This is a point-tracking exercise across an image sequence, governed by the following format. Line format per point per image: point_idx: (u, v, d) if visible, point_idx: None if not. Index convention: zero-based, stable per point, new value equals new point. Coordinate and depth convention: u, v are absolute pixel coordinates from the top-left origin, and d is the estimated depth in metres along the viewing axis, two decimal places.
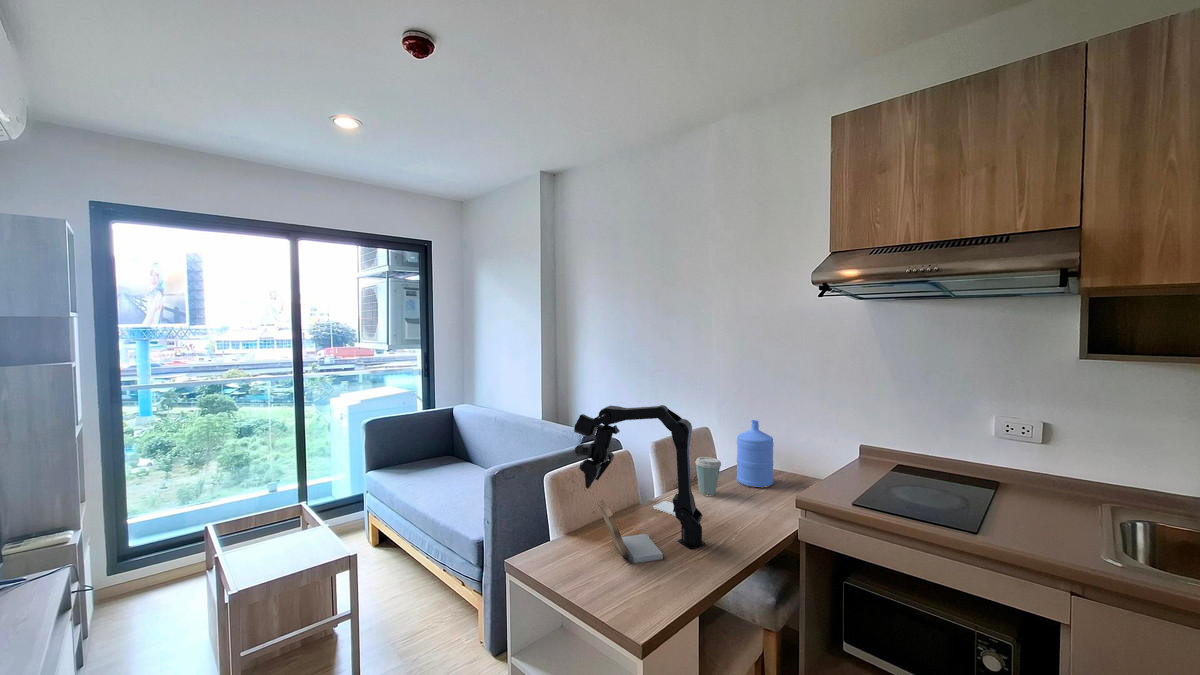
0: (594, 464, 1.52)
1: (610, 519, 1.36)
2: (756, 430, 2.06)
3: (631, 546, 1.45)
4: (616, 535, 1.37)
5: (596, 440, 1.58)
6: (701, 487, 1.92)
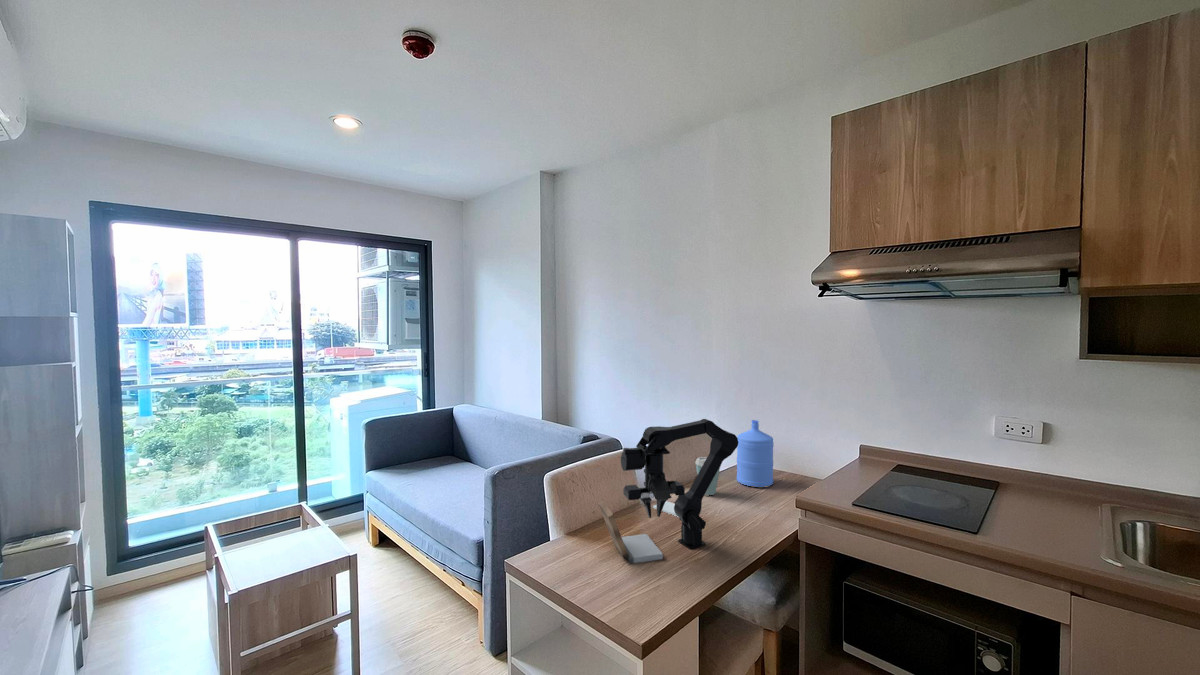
0: (675, 481, 1.49)
1: (610, 519, 1.36)
2: (756, 430, 2.06)
3: (631, 546, 1.45)
4: (616, 535, 1.37)
5: (652, 468, 1.43)
6: None
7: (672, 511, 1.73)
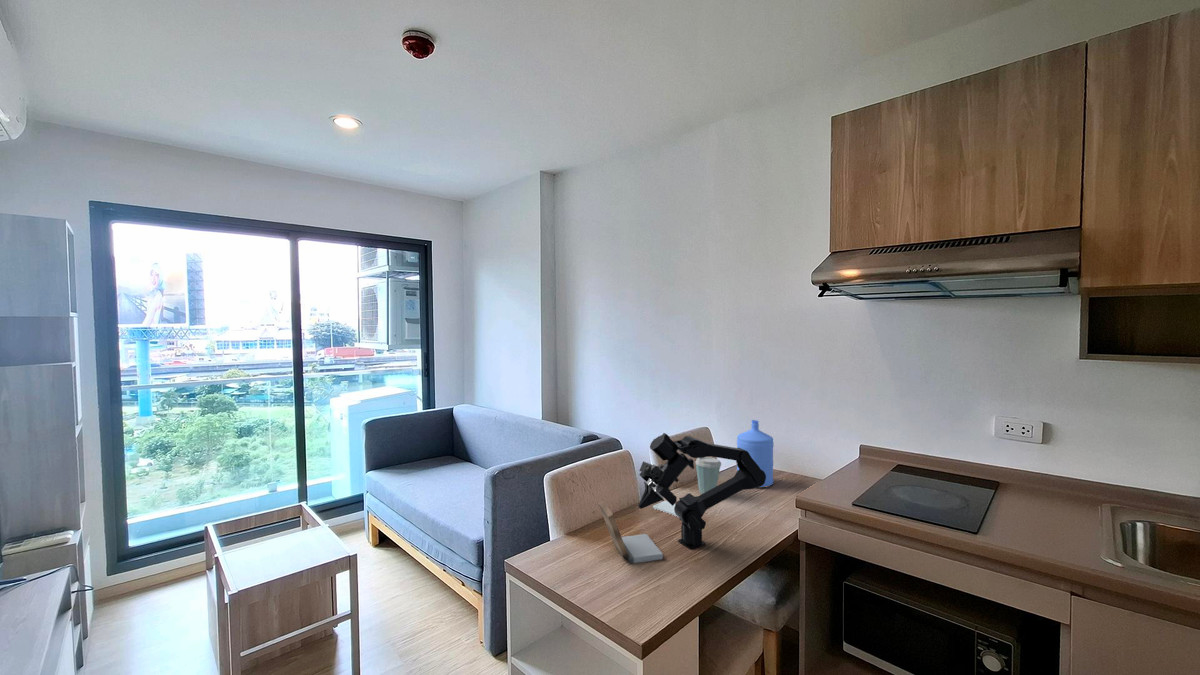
0: None
1: (610, 519, 1.36)
2: (756, 430, 2.06)
3: (631, 546, 1.45)
4: (616, 535, 1.37)
5: (673, 467, 1.45)
6: (701, 487, 1.92)
7: (672, 511, 1.73)
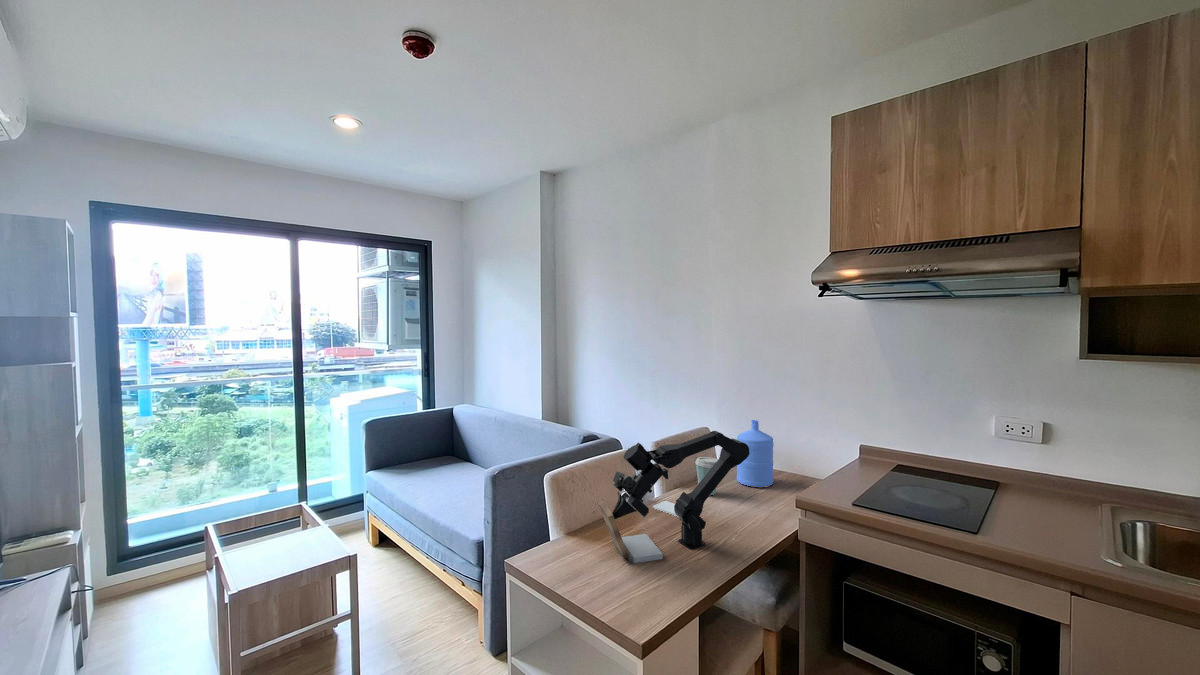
0: (645, 505, 1.37)
1: (610, 519, 1.36)
2: (756, 430, 2.06)
3: (631, 546, 1.45)
4: (616, 535, 1.37)
5: (646, 478, 1.43)
6: None
7: (672, 511, 1.74)
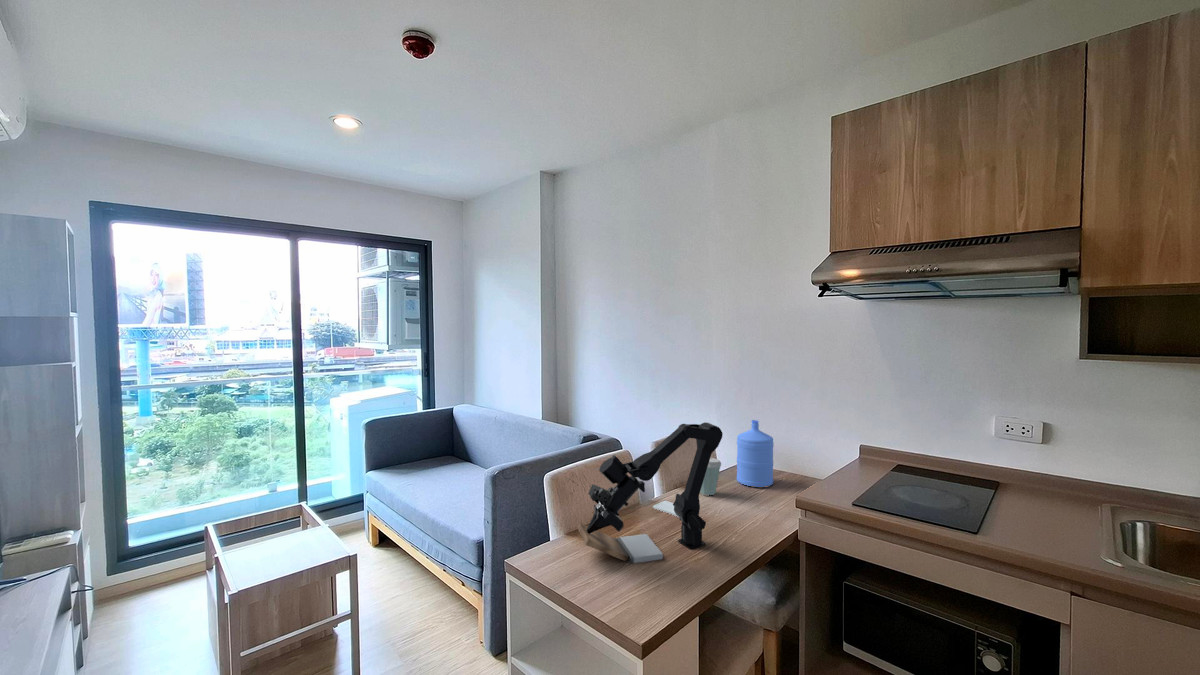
0: (620, 519, 1.35)
1: (589, 544, 1.35)
2: (756, 430, 2.06)
3: (631, 546, 1.45)
4: (604, 551, 1.36)
5: (622, 491, 1.41)
6: (701, 487, 1.92)
7: (672, 511, 1.74)
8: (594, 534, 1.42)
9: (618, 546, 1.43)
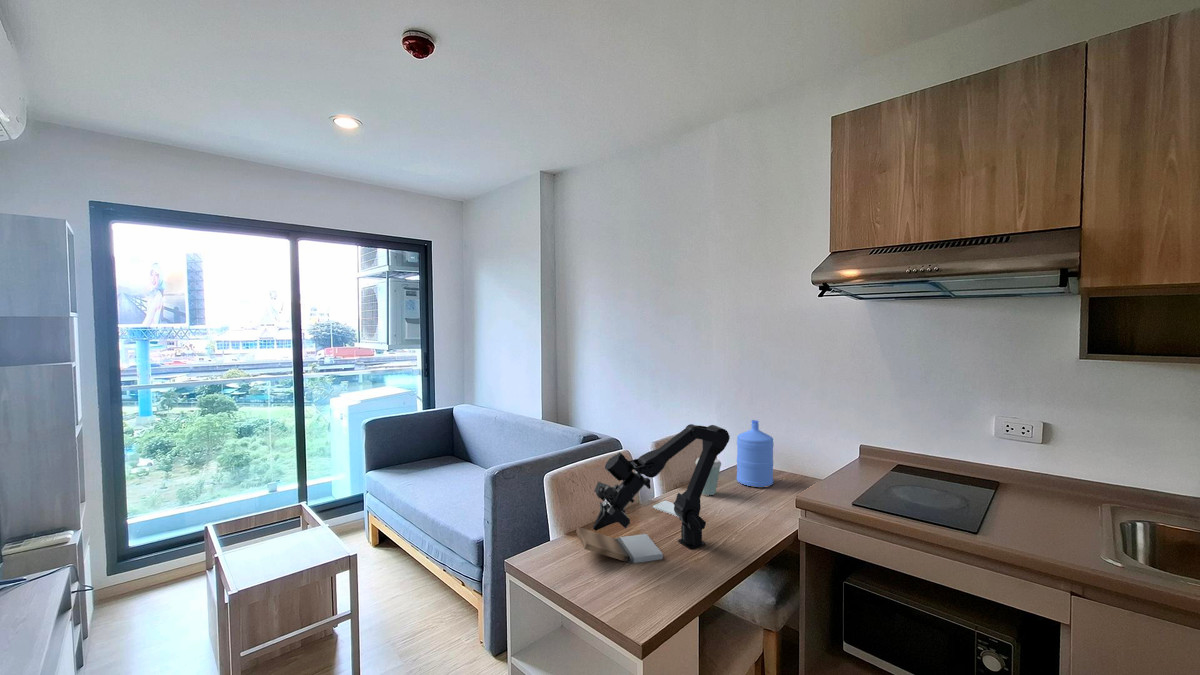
0: (627, 516, 1.36)
1: (588, 548, 1.35)
2: (756, 430, 2.06)
3: (631, 546, 1.45)
4: (604, 553, 1.36)
5: (628, 488, 1.41)
6: None
7: (672, 511, 1.74)
8: (593, 537, 1.42)
9: (618, 546, 1.43)
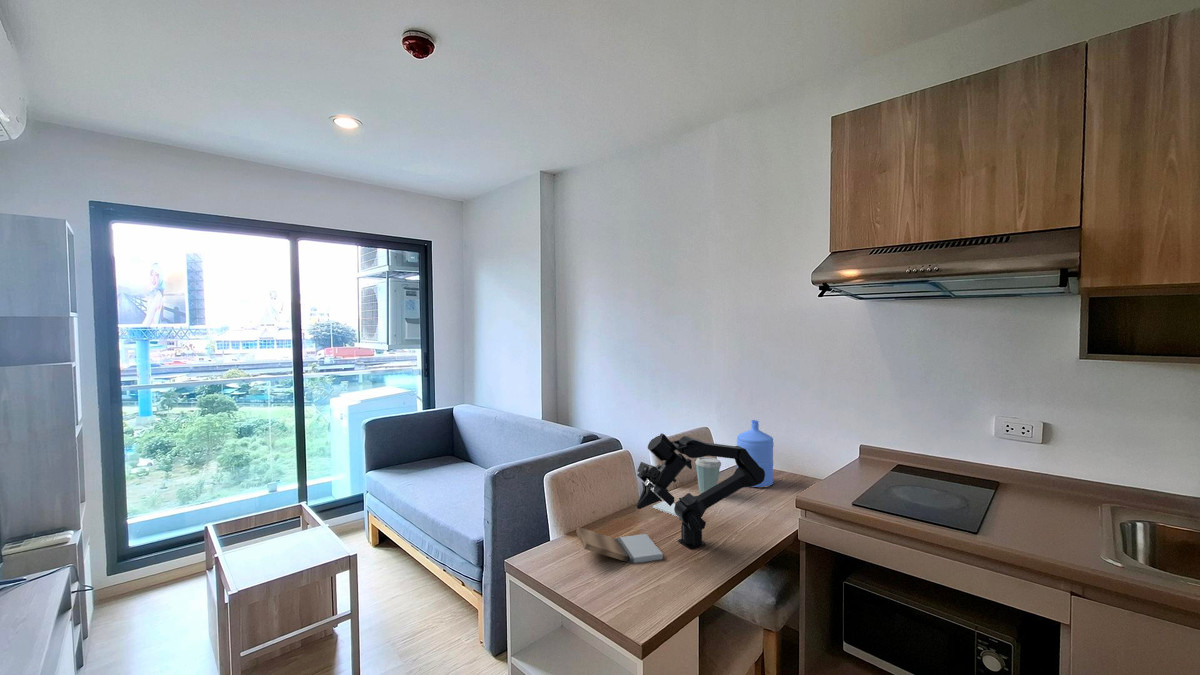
0: None
1: (588, 548, 1.35)
2: (756, 430, 2.06)
3: (631, 546, 1.45)
4: (604, 553, 1.36)
5: (671, 467, 1.45)
6: (701, 487, 1.92)
7: (672, 511, 1.74)
8: (593, 537, 1.42)
9: (618, 546, 1.43)
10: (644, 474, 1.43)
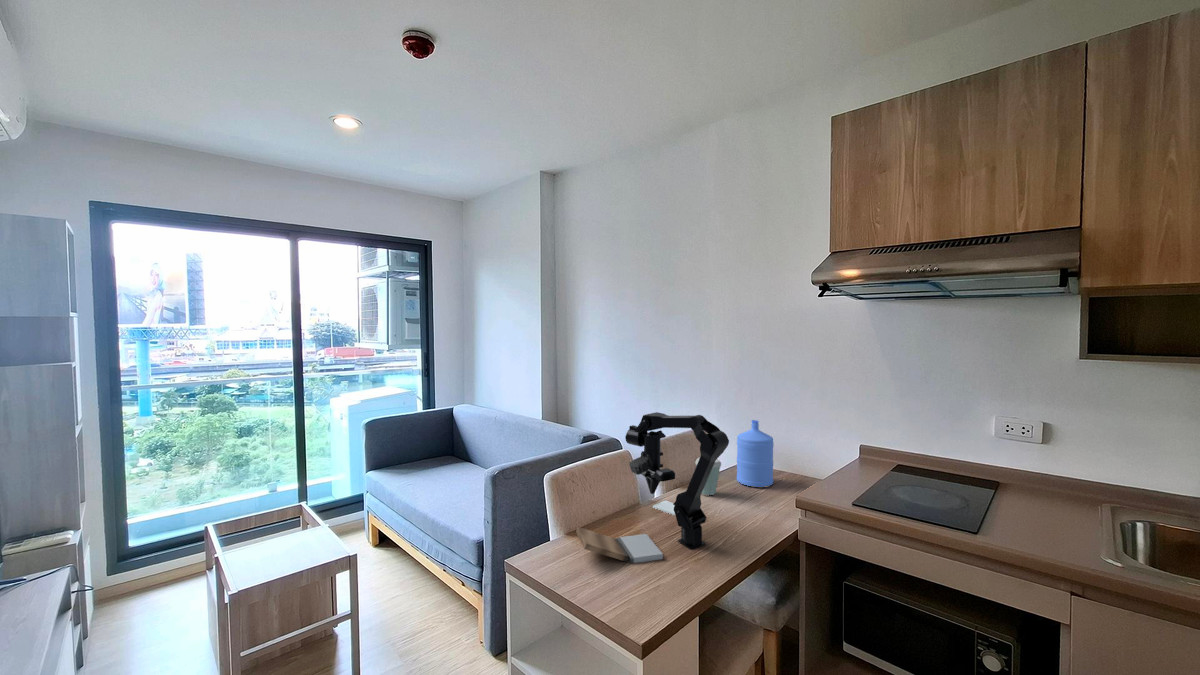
0: (669, 470, 1.55)
1: (588, 548, 1.35)
2: (756, 430, 2.06)
3: (631, 546, 1.45)
4: (604, 553, 1.36)
5: (644, 448, 1.60)
6: None
7: (672, 511, 1.74)
8: (593, 537, 1.42)
9: (618, 546, 1.43)
10: (640, 472, 1.56)
